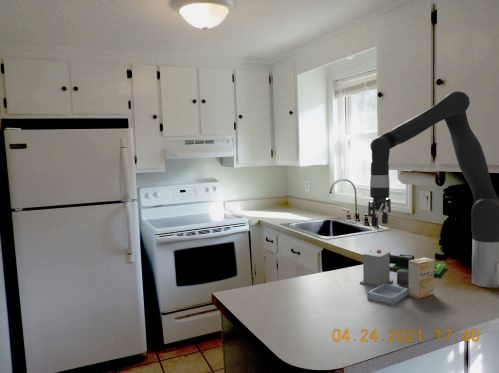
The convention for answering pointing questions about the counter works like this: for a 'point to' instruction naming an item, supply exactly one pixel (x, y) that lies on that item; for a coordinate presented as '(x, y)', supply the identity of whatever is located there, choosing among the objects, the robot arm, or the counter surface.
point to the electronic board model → (403, 263)
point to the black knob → (402, 277)
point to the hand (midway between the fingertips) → (379, 225)
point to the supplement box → (421, 277)
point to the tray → (387, 294)
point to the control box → (376, 268)
